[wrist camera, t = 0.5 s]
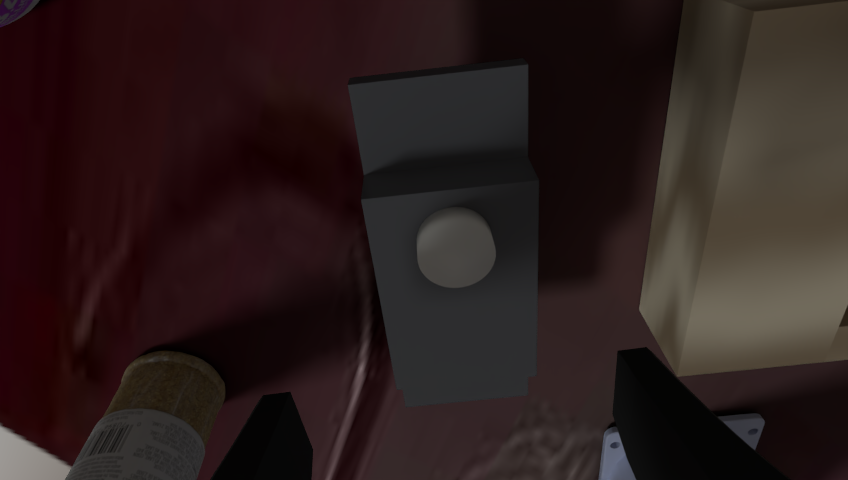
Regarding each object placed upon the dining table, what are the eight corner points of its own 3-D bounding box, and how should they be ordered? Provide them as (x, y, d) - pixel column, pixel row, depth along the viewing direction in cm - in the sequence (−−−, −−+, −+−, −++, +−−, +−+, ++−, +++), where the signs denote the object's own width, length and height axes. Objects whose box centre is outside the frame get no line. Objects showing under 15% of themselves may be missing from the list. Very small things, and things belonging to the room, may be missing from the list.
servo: (507, 312, 24) (540, 446, 18) (404, 323, 24) (406, 459, 18) (499, 25, 17) (548, 92, 12) (359, 41, 18) (340, 116, 12)
